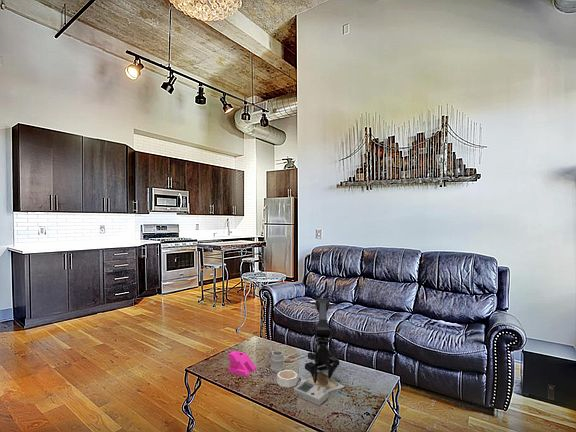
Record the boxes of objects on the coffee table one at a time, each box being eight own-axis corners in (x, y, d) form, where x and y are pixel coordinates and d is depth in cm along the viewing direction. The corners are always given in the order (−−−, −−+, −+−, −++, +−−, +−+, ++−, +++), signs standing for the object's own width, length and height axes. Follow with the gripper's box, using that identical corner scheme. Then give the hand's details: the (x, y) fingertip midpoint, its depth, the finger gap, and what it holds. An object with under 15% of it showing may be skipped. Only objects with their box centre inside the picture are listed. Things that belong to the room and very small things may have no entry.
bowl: (290, 376, 176) (290, 368, 176) (300, 385, 167) (300, 376, 167) (274, 381, 170) (274, 372, 171) (283, 390, 162) (284, 381, 162)
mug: (277, 375, 178) (277, 353, 178) (262, 368, 186) (263, 347, 186) (287, 370, 183) (287, 349, 183) (272, 363, 191) (272, 343, 191)
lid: (324, 376, 176) (324, 367, 176) (338, 385, 166) (338, 376, 166) (305, 381, 170) (306, 372, 170) (319, 391, 160) (319, 382, 160)
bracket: (228, 372, 180) (228, 353, 180) (238, 365, 189) (238, 347, 189) (246, 377, 175) (246, 358, 175) (256, 369, 184) (256, 351, 184)
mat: (324, 374, 179) (324, 373, 179) (344, 387, 165) (344, 386, 165) (300, 381, 171) (300, 380, 171) (318, 396, 157) (318, 394, 157)
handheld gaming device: (319, 407, 148) (318, 399, 148) (293, 395, 157) (293, 388, 157) (329, 397, 155) (329, 390, 155) (304, 387, 164) (304, 379, 164)
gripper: (327, 342, 180) (326, 370, 180) (299, 348, 170) (298, 378, 170) (340, 349, 170) (339, 379, 170) (311, 356, 161) (310, 388, 161)
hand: (322, 380), depth 168 cm, fingers open, 9 cm apart
